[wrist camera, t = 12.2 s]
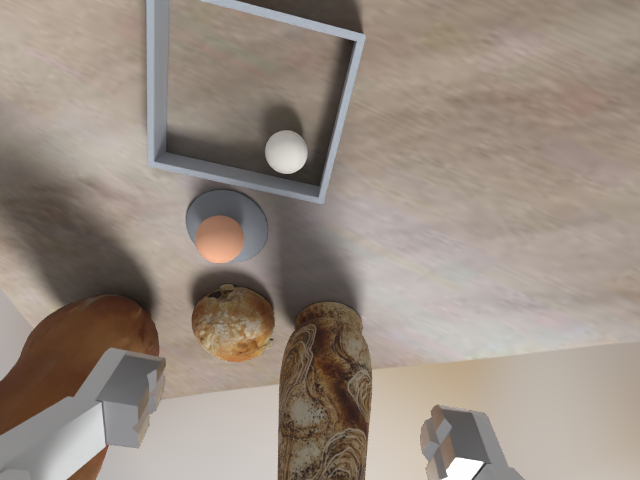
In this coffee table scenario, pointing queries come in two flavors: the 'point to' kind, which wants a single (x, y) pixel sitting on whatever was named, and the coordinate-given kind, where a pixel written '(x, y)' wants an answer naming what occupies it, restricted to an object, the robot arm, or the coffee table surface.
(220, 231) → the terracotta ball
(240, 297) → the bread roll
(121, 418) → the robot arm
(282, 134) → the cream ball
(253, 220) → the pad
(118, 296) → the butternut squash
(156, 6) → the grey square frame
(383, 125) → the coffee table surface
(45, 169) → the coffee table surface
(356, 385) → the vase
